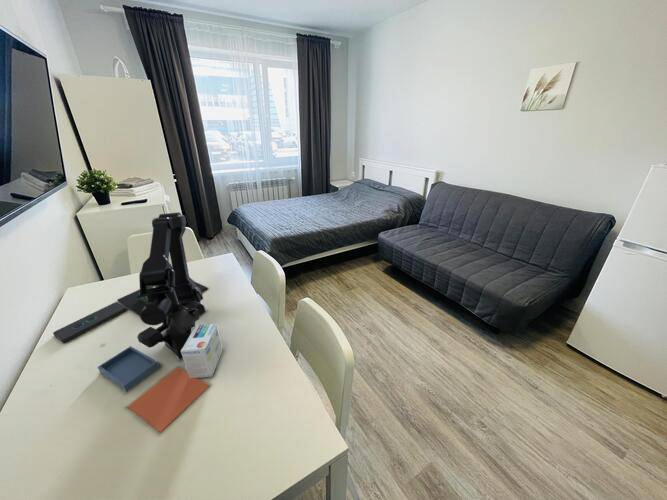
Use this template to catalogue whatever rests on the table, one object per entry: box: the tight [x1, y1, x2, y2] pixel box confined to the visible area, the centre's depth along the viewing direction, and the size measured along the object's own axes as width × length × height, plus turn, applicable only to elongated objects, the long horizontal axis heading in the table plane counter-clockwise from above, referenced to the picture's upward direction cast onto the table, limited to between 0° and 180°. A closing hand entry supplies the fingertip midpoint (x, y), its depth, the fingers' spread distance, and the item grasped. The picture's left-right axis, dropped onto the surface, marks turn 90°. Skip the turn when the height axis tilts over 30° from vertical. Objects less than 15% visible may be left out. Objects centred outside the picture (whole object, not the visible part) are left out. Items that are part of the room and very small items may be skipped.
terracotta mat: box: [127, 367, 210, 433], centre depth 72 cm, size 14×14×1 cm
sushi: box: [116, 281, 209, 317], centre depth 115 cm, size 25×25×4 cm
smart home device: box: [52, 301, 128, 344], centre depth 100 cm, size 8×2×20 cm
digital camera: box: [164, 327, 189, 360], centre depth 87 cm, size 10×5×7 cm, turn 52°
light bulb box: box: [181, 323, 223, 379], centre depth 80 cm, size 11×7×11 cm, turn 5°
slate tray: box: [97, 345, 160, 393], centre depth 80 cm, size 9×14×2 cm, turn 62°
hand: (181, 342), depth 87 cm, fingers closed on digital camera, 5 cm apart
